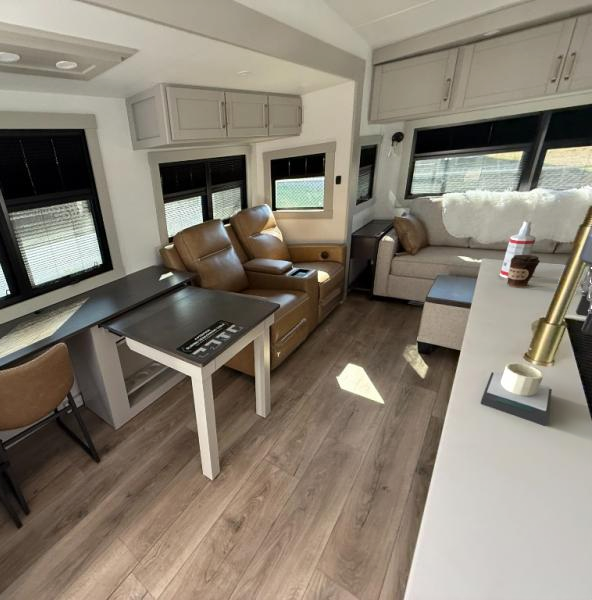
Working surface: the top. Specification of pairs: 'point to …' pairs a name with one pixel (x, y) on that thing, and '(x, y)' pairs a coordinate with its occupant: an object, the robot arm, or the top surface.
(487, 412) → the top surface
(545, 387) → the scale
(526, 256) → the coffee cup
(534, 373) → the bowl
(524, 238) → the spray bottle
